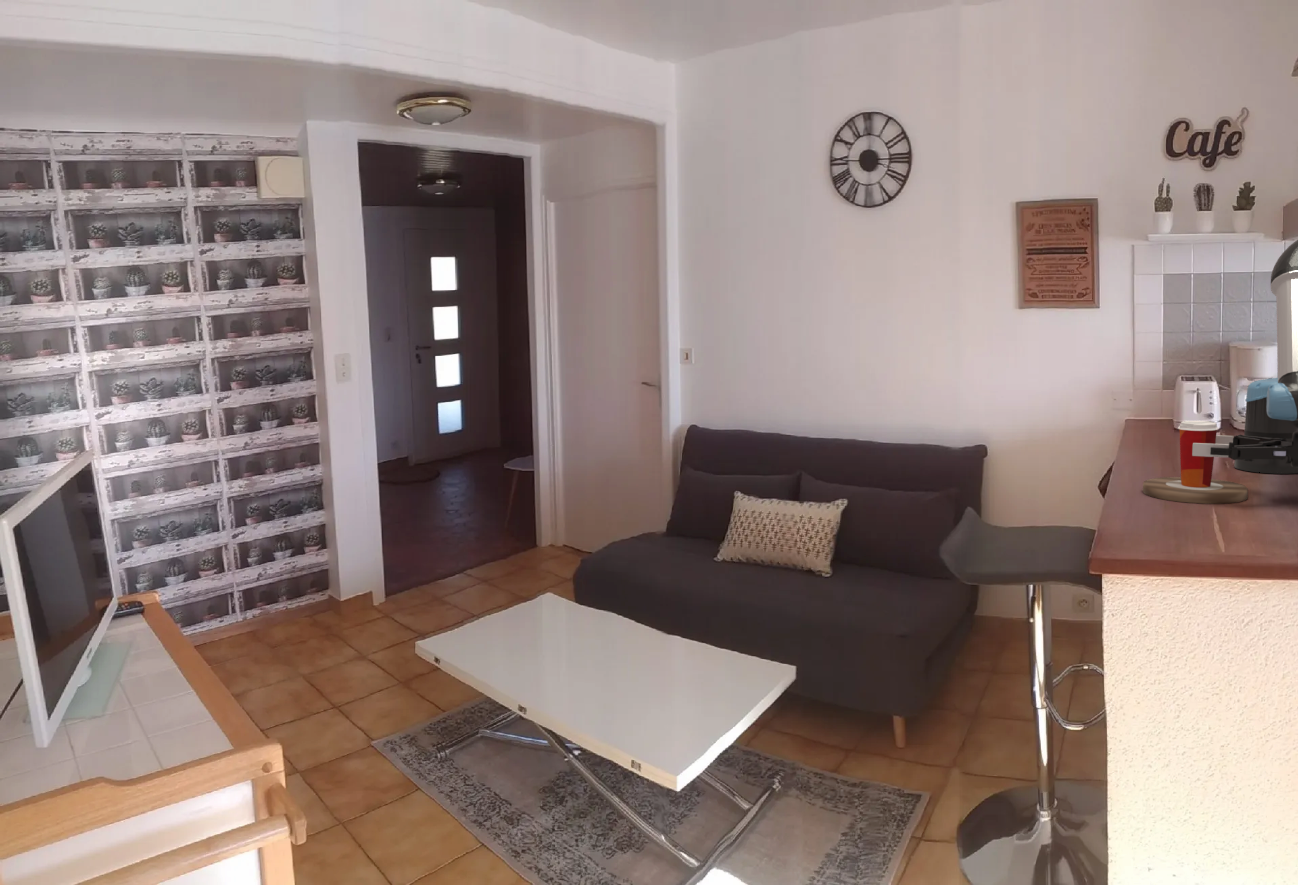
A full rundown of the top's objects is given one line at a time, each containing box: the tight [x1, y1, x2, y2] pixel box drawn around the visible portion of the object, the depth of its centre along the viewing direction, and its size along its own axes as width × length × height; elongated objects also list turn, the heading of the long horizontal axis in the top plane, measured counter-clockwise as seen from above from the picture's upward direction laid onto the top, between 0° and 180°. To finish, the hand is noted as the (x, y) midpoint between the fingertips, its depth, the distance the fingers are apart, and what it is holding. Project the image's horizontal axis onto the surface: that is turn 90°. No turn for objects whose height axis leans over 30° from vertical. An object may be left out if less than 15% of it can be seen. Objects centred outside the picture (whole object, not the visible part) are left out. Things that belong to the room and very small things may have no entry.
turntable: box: [1142, 476, 1249, 505], centre depth 203 cm, size 20×20×2 cm
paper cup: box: [1177, 420, 1219, 488], centre depth 202 cm, size 8×8×14 cm
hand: (1195, 444), depth 201 cm, fingers open, 13 cm apart
